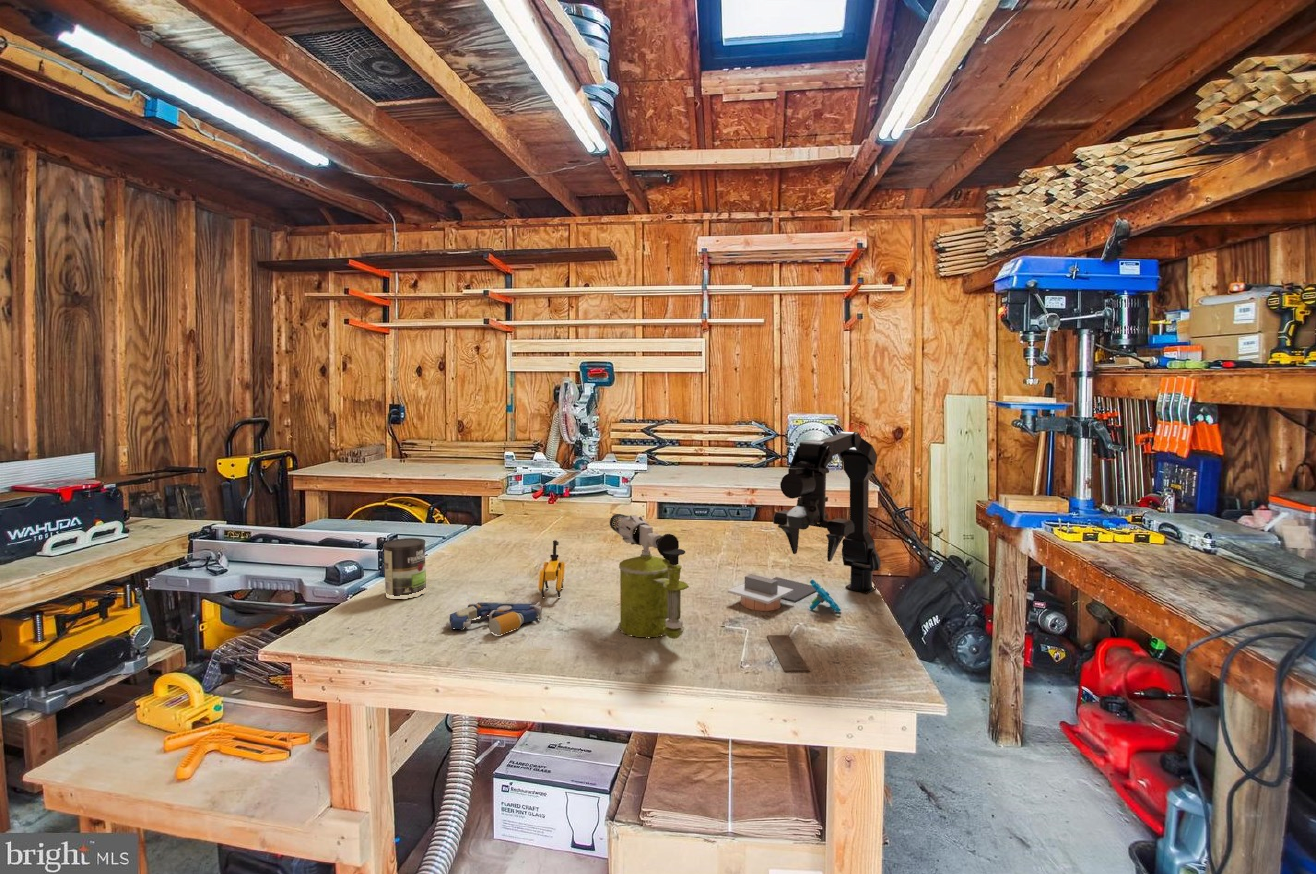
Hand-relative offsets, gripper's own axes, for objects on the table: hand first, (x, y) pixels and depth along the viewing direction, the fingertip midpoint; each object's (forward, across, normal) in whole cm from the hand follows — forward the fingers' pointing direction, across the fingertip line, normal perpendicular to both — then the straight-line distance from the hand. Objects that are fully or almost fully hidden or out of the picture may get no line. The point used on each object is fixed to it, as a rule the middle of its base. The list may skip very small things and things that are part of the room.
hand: (811, 557), depth 140 cm
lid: (+12, -14, -1) cm, 18 cm away
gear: (+15, 0, +7) cm, 16 cm away
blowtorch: (+15, -24, -32) cm, 43 cm away
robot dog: (+15, -59, -33) cm, 69 cm away
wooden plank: (+15, +7, -22) cm, 27 cm away
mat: (+15, -15, +13) cm, 25 cm away
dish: (+15, -14, -1) cm, 20 cm away
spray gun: (+15, -51, -56) cm, 77 cm away
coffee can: (+15, -87, -61) cm, 107 cm away
